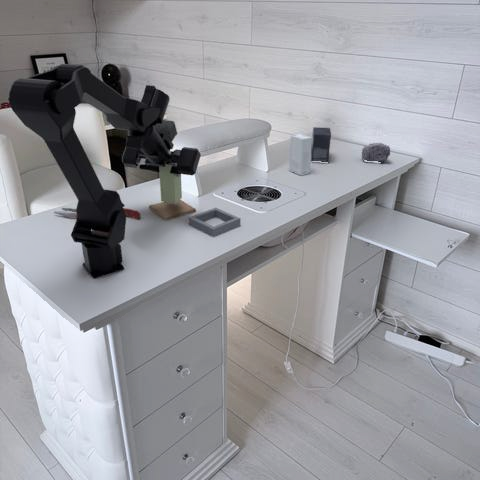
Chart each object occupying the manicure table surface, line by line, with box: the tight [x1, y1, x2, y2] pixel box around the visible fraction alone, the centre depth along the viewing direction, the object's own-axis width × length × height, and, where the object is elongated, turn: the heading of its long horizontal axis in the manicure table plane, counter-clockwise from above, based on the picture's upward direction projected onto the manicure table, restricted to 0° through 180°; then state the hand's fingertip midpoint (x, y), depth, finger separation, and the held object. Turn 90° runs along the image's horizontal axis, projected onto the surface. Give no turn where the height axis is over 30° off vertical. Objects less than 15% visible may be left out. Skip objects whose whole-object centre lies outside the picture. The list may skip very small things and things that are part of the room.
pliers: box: [53, 207, 141, 234], centre depth 109 cm, size 12×21×3 cm, turn 70°
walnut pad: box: [148, 199, 197, 221], centre depth 116 cm, size 9×9×1 cm
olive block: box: [158, 165, 183, 203], centre depth 112 cm, size 4×4×10 cm
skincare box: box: [288, 133, 312, 176], centre depth 143 cm, size 6×4×12 cm
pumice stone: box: [361, 142, 391, 163], centre depth 158 cm, size 10×8×10 cm
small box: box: [310, 127, 332, 163], centre depth 158 cm, size 11×6×10 cm, turn 172°
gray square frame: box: [188, 207, 241, 238], centre depth 108 cm, size 9×9×2 cm
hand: (172, 173), depth 113 cm, fingers closed on olive block, 4 cm apart
